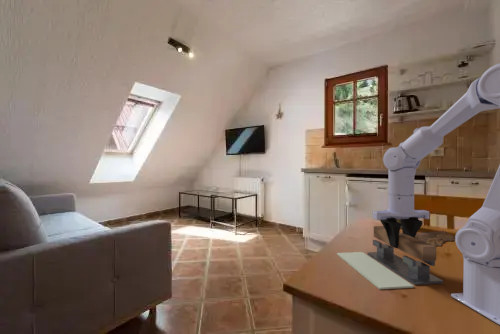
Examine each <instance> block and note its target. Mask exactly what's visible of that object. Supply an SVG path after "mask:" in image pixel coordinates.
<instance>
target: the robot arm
mask: <svg viewBox="0 0 500 334" xmlns="http://www.w3.org/2000/svg"><path fill="white" fill-rule="evenodd" d="M495 109H496V110H498V109H500V62H498V63H497V64H494V65H492V66H491V67H489V68H488V69H486V70H485V71H484V73H482V74H481V76H480V77H477V79H475V80H474V81H472V82H471V83H470V86H469V87H468V89H467V91H466V92H465V93H464V94H463V95H462V96H461V97H460V98H459V99H458V100H457V101H456V102H455V103H453V104H452V105H451V106H450V108H448V109H447V110H446V111H445V112H444V113H443V114H442V115H441V116H440V117H439V118H438V119H437V120H435V121H434V122H433V123H432V124H431V125H429V126H428V125H427V126H421V127H417V128H415V129H414V130H413V133H412V134H411V135H410V136H409V137H408V138H407V139H405V140H404V141H402V142H400V143H399V145H398V146H397V147H390V148H388V149H387V150H386V151H385V152H384V155H383V158H382V162H383V165H384V167H385V168H386V169H387V170H388V183H387V184H388V186H387V187H388V188H387V189H388V192H387V193H388V196H387V197H388V198H387V199H388V201H387V202H388V203H387V207H388V208H387V209H383V210H382V209H381V210H377V211H376V210H373V211H372V214H371V216H372V220H375V221H380V223H381V225H382V226H384V228H385V230H386V233H387V236H388V239H389V243H390V245H389V246H391V247H393V248H394V249H397V248H398V244H399V232H401V233H403V234H406V235H409V236H411V237H414V238H415V235H416V233H419V230H420V229H421V227H422V226H423V222H424V221H423V220H421V219H424V220H430V211H428V210H425V209H419V210H418V209H415V176H416V174H417V168H419V167H420V164H421V161H422V160H423V159H424V158H425V157H427V156H428V155H429V154H431V153H433V152H434V151H436V150H437V149H438V148H440V147H441V146H442V145H443V143H444V137H445V136H446V135H448V134H449V133H451V132H452V131H454V130H455V129H457V128H458V127H460V126H461V125H463V124H464V123H466V122H467V121H468V120H470V119H471V118H473V117H474V116H476V115H478V114H479V113H480V112H484V111H490V110H495ZM396 219H400V222H401V223H399V222H397V220H396ZM401 226H402V228H401ZM401 229H402V231H401ZM454 237H455V238H454V241H455V245H456V247H457V249H458V250H459V251H460V252H461V254H462V258H463V277H462V279H463V283H462V285H463V286H462V288H463V290H462V292H457V293H455V292H453V293H451V294H450V297H452V298H453V299H455V300H457V301H459V302H460V303H462V304H464V305H465V306H467V307H469V308H470V309H472V310H473V311H475V312H477V313H479V314H480V315H482V316H484V317H485V318H486V319H489V320H490V321H492V322H494V323H496V324H497V325H499V326H500V164H499V166H498V168H497V170H496V173H495V175H494V177H493V180H492V183H491V185H490V187H489V190H488V192H487V194H486V197H485V198H484V201H483V204H482V206H481V207H480V208H478V209H477V211H475V212H474V213H473V214H471V216H469V218H468V220H467V222H466V224H465V225H464V226H463V227H461V228H460V229H458V230H457V231H456V234H455V236H454Z"/></svg>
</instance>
